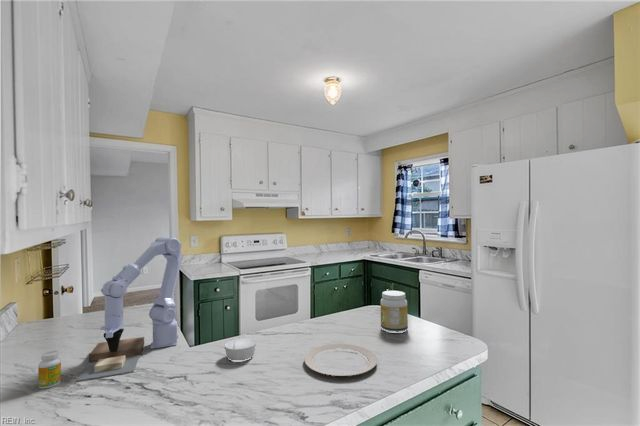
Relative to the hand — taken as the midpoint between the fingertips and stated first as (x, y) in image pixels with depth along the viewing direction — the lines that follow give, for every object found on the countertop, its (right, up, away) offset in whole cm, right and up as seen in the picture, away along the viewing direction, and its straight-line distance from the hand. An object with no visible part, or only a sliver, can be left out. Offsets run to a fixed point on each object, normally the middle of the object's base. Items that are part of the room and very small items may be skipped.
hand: (113, 351), depth 114 cm
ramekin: (+45, -4, +2) cm, 46 cm away
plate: (+82, -3, -3) cm, 82 cm away
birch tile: (+2, -1, -5) cm, 5 cm away
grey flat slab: (+2, -4, -5) cm, 6 cm away
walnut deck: (-3, -4, +7) cm, 9 cm away
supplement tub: (+109, -3, +29) cm, 113 cm away
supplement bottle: (-10, -4, -16) cm, 19 cm away
